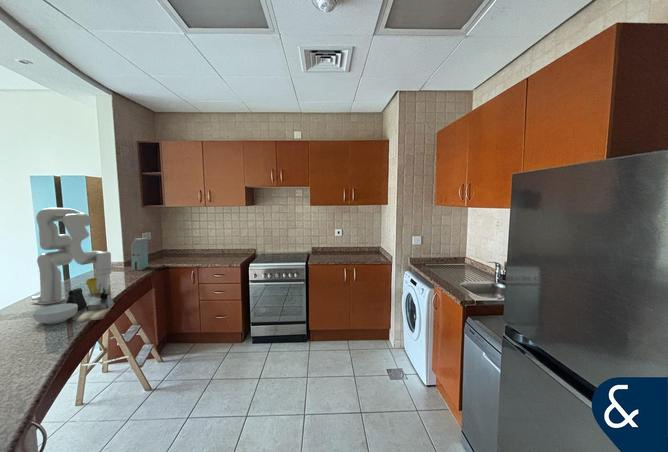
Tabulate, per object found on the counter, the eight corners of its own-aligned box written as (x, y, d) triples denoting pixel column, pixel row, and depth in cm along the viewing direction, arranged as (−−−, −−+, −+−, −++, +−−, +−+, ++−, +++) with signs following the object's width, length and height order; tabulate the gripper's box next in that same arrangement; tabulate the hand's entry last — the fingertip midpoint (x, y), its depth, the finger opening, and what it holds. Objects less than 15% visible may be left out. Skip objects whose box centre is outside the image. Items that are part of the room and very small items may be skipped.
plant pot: (101, 289, 207) (101, 276, 207) (108, 292, 202) (107, 278, 201) (83, 292, 198) (83, 279, 198) (89, 295, 193) (89, 281, 193)
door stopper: (63, 310, 164) (62, 290, 164) (72, 307, 170) (71, 287, 170) (79, 311, 165) (79, 290, 164) (87, 307, 171) (87, 288, 170)
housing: (86, 310, 162) (86, 305, 162) (92, 304, 172) (92, 299, 172) (108, 308, 166) (107, 303, 166) (113, 302, 177) (112, 297, 177)
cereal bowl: (74, 313, 162) (74, 301, 161) (80, 321, 151) (80, 308, 151) (31, 321, 148) (31, 308, 148) (34, 330, 138) (34, 316, 138)
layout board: (76, 321, 150) (76, 319, 149) (91, 306, 173) (91, 304, 173) (102, 318, 155) (102, 316, 154) (114, 304, 178) (114, 302, 178)
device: (139, 266, 287) (139, 237, 286) (148, 266, 289) (147, 237, 287) (131, 270, 271) (131, 239, 269) (140, 270, 273) (140, 239, 271)
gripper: (99, 269, 180) (99, 297, 181) (92, 274, 167) (92, 304, 168) (113, 268, 184) (114, 296, 185) (108, 273, 171) (108, 303, 171)
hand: (103, 300), depth 176 cm, fingers closed
